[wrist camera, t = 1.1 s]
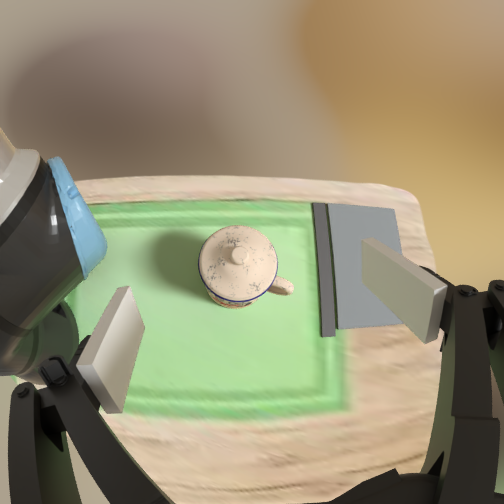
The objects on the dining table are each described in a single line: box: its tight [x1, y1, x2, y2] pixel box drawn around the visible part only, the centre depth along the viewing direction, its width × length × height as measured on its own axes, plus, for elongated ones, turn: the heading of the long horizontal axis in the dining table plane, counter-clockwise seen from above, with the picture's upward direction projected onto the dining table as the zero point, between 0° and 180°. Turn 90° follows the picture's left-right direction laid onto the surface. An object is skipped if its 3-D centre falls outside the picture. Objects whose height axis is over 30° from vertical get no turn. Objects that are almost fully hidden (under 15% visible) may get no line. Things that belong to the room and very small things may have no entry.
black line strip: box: [313, 203, 336, 337], centre depth 43 cm, size 2×21×1 cm, turn 1°
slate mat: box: [327, 203, 404, 329], centre depth 44 cm, size 13×20×1 cm, turn 1°
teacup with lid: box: [198, 225, 294, 309], centre depth 36 cm, size 12×9×12 cm
